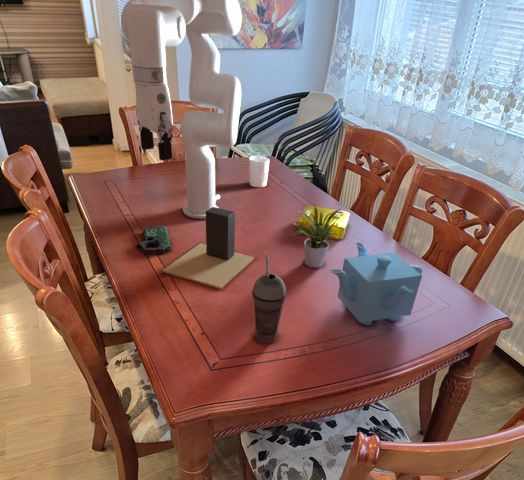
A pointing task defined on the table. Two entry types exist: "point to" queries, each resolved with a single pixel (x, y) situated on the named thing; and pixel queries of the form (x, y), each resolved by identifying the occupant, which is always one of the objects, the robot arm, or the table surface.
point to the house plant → (316, 238)
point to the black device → (220, 233)
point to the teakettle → (378, 286)
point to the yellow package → (338, 225)
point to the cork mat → (207, 267)
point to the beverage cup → (268, 305)
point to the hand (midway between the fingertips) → (156, 154)
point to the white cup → (258, 170)
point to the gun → (155, 240)
